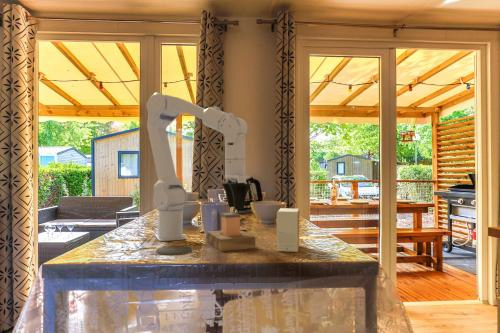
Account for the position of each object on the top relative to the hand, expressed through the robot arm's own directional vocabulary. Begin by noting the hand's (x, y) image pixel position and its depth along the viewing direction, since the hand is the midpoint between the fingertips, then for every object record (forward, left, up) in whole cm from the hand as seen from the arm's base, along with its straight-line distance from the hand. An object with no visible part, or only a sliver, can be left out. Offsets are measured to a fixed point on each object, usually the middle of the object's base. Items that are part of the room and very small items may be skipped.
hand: (235, 208), depth 94 cm
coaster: (0, -17, -10) cm, 20 cm away
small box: (+9, +12, -11) cm, 18 cm away
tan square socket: (-1, -1, -10) cm, 11 cm away
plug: (-1, -1, -11) cm, 11 cm away
